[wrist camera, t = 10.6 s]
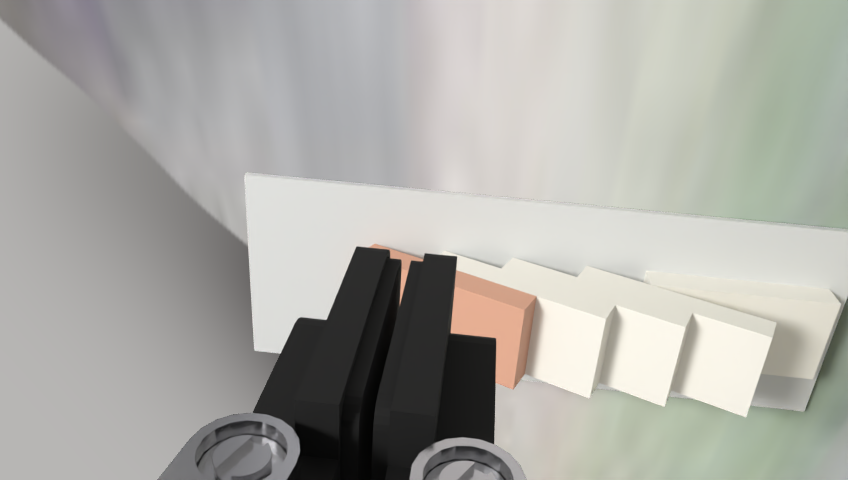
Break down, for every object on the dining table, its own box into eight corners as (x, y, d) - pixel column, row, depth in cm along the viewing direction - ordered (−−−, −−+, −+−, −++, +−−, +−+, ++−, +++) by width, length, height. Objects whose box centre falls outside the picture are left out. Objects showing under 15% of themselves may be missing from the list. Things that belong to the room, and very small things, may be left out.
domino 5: (646, 270, 41) (829, 288, 40) (629, 344, 43) (802, 362, 42) (651, 284, 39) (841, 304, 39) (633, 360, 42) (812, 379, 41)
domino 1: (374, 243, 42) (536, 296, 38) (372, 316, 44) (524, 373, 40) (358, 254, 41) (524, 309, 36) (357, 328, 43) (513, 389, 39)
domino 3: (513, 257, 41) (692, 312, 37) (503, 330, 44) (671, 390, 39) (501, 268, 40) (685, 327, 36) (492, 343, 42) (664, 406, 38)
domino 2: (444, 250, 42) (615, 304, 37) (438, 323, 44) (598, 382, 40) (431, 261, 40) (605, 319, 36) (425, 336, 43) (589, 398, 38)
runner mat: (868, 231, 39) (871, 234, 39) (801, 407, 44) (804, 411, 44) (246, 172, 41) (244, 174, 41) (256, 346, 47) (254, 350, 46)
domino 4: (586, 265, 41) (776, 322, 37) (573, 338, 43) (750, 400, 39) (577, 277, 40) (772, 337, 36) (563, 352, 42) (745, 417, 38)
